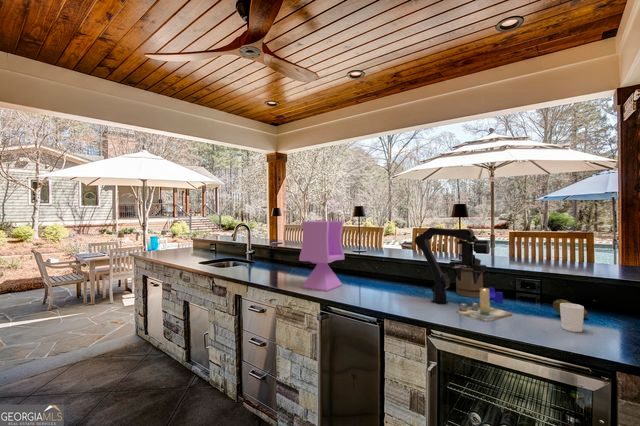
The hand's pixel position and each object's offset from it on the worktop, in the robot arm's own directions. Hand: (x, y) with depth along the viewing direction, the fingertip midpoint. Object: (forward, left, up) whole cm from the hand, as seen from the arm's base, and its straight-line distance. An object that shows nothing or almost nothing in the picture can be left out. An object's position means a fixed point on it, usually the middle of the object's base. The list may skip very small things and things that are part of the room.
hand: (467, 282), depth 163 cm
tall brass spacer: (+15, -8, -11) cm, 20 cm away
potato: (+34, +27, -13) cm, 46 cm away
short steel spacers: (+8, -2, -12) cm, 14 cm away
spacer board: (+11, -3, -13) cm, 17 cm away
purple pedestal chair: (-79, -44, -13) cm, 91 cm away
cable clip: (-2, +25, -13) cm, 28 cm away
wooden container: (-17, +25, -13) cm, 33 cm away
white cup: (+42, +10, -13) cm, 45 cm away
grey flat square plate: (+15, -8, -13) cm, 21 cm away
